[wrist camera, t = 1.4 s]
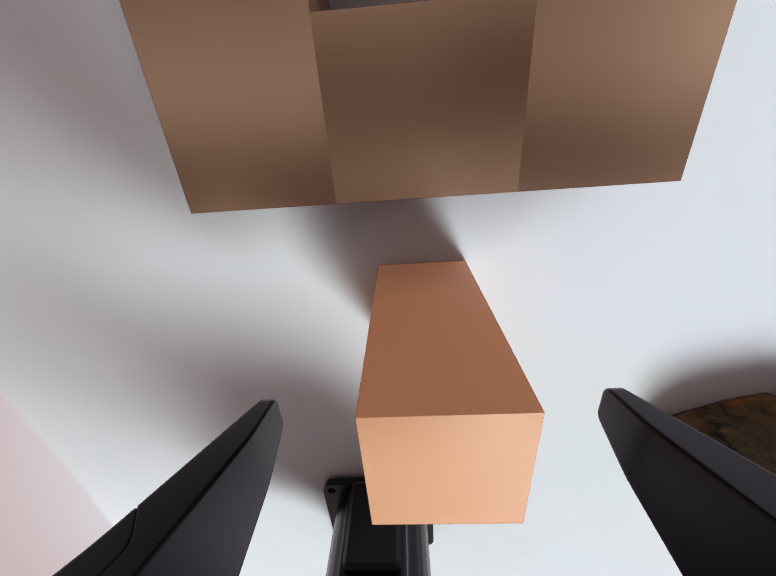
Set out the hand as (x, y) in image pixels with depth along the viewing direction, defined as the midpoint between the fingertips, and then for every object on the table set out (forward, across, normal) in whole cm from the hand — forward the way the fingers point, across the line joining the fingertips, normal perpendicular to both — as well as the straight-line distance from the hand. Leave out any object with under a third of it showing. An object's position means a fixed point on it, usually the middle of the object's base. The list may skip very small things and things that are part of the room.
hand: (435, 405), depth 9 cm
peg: (+6, 0, 0) cm, 6 cm away
